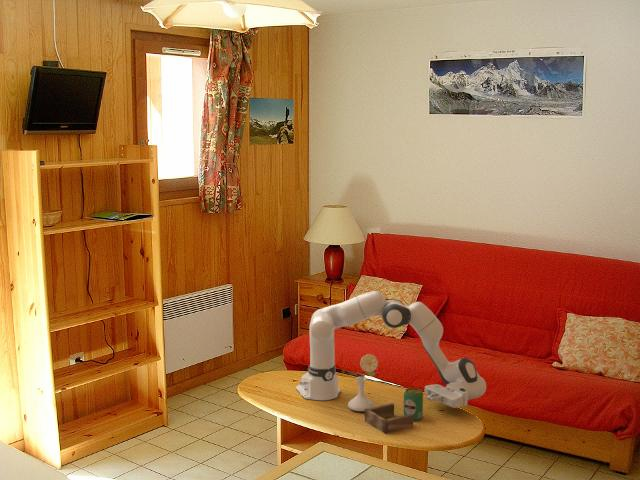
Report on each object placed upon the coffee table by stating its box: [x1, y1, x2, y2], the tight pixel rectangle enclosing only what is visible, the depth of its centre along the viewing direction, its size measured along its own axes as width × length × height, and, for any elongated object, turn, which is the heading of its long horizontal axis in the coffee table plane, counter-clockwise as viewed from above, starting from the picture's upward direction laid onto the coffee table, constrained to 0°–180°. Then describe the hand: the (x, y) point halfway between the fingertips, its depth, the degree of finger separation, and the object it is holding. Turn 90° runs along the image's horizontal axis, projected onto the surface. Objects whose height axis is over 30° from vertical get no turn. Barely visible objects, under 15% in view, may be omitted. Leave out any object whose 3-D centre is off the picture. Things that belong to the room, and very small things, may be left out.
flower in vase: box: [347, 353, 379, 412], centre depth 329 cm, size 13×11×25 cm
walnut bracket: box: [364, 402, 414, 434], centre depth 315 cm, size 15×14×5 cm
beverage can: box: [403, 387, 424, 422], centre depth 321 cm, size 8×8×12 cm
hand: (429, 399), depth 324 cm, fingers closed
